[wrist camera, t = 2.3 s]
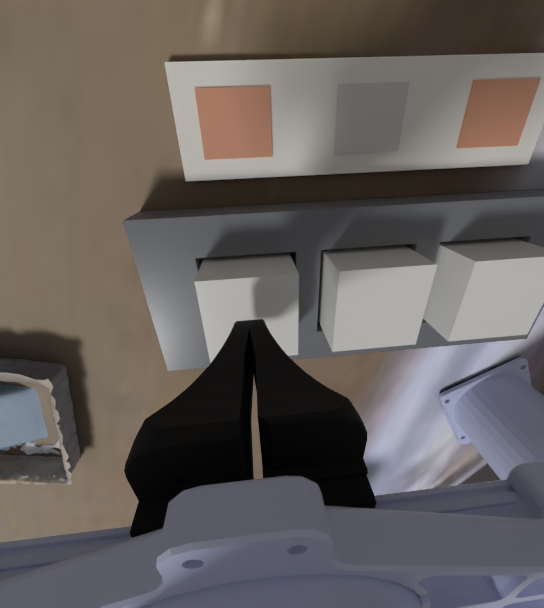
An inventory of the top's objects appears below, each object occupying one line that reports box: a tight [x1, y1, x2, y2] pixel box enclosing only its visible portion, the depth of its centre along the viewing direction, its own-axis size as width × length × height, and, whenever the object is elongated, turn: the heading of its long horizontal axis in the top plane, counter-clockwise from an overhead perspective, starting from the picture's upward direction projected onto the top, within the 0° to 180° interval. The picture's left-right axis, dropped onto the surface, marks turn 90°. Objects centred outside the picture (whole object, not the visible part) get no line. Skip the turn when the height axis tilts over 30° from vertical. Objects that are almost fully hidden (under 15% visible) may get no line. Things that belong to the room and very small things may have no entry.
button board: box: [123, 189, 544, 371], centre depth 18 cm, size 26×10×2 cm, turn 92°
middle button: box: [318, 245, 438, 352], centre depth 16 cm, size 5×5×4 cm
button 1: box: [423, 237, 544, 342], centre depth 16 cm, size 5×5×4 cm
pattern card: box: [164, 53, 544, 181], centre depth 14 cm, size 20×5×1 cm, turn 92°
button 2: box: [194, 252, 299, 363], centre depth 16 cm, size 5×5×4 cm
